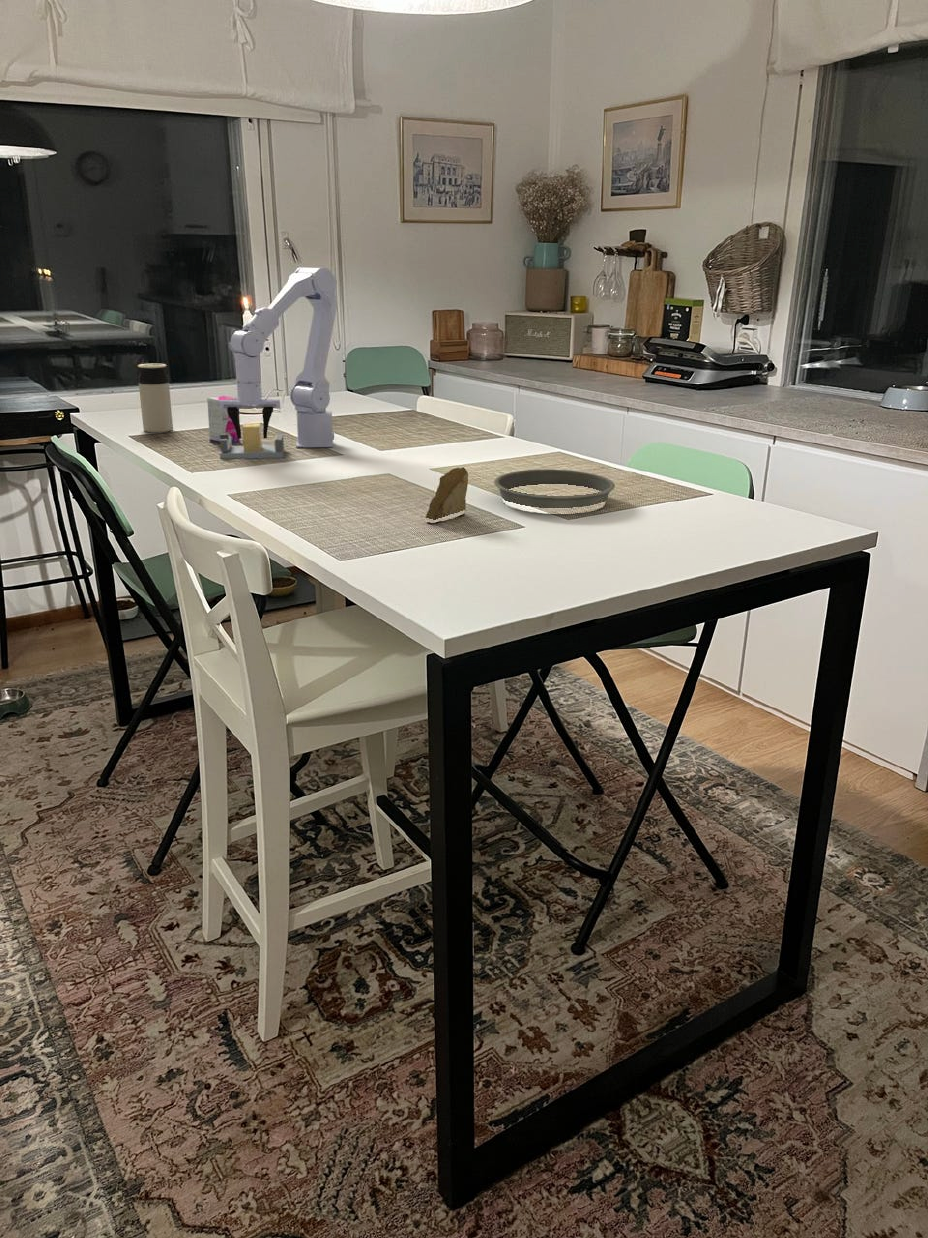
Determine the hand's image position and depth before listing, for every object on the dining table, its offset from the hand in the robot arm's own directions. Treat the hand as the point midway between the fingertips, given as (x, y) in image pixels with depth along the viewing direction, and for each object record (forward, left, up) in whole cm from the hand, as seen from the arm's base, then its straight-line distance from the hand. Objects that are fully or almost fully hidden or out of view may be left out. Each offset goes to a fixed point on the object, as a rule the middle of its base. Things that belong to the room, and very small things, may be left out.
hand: (252, 437), depth 238 cm
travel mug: (+29, -36, -4) cm, 46 cm away
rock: (-40, +66, -4) cm, 78 cm away
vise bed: (0, 0, -4) cm, 4 cm away
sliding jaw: (+7, 0, -2) cm, 7 cm away
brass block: (0, 0, -3) cm, 3 cm away
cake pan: (-64, +55, -4) cm, 85 cm away
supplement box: (+9, -18, -4) cm, 20 cm away
